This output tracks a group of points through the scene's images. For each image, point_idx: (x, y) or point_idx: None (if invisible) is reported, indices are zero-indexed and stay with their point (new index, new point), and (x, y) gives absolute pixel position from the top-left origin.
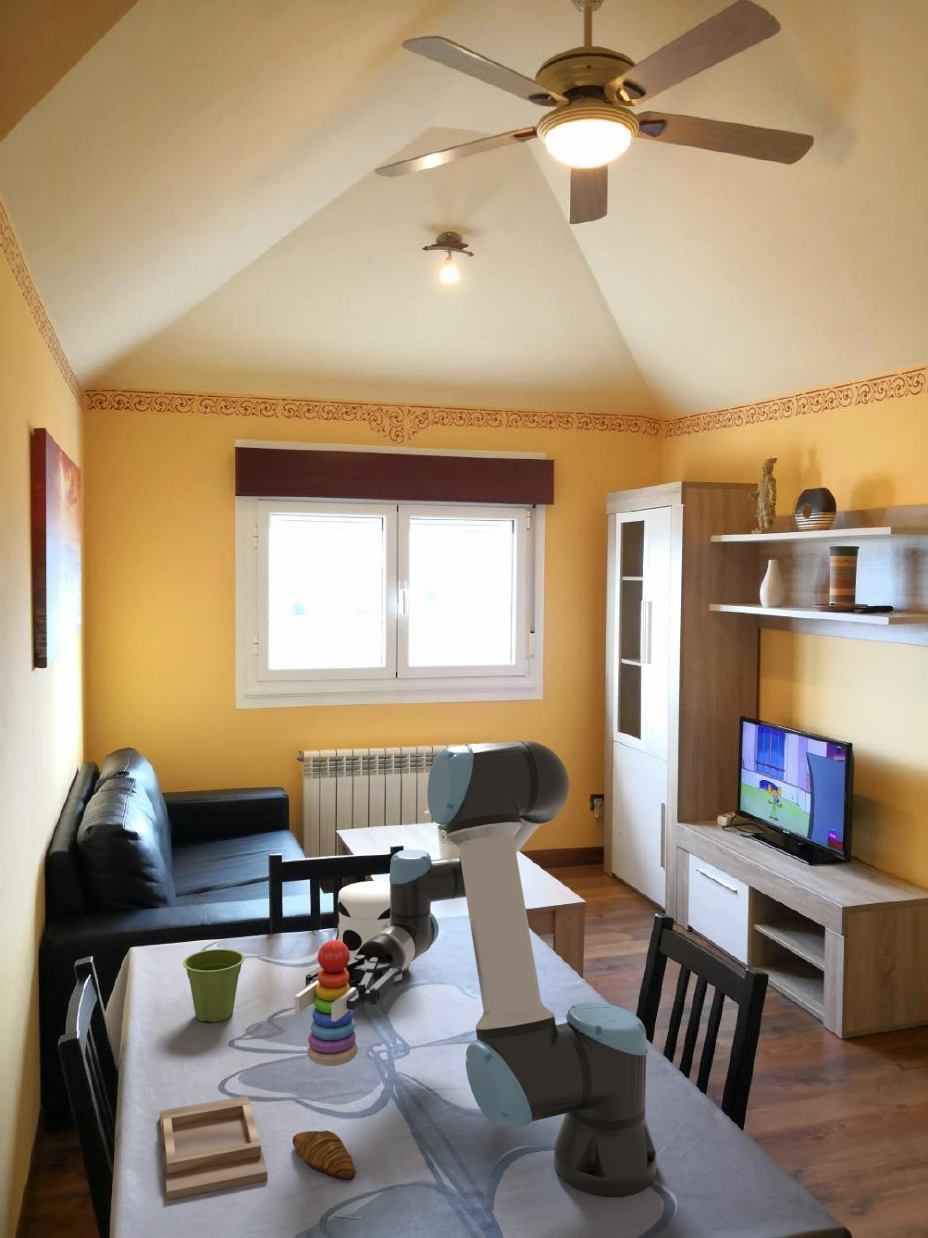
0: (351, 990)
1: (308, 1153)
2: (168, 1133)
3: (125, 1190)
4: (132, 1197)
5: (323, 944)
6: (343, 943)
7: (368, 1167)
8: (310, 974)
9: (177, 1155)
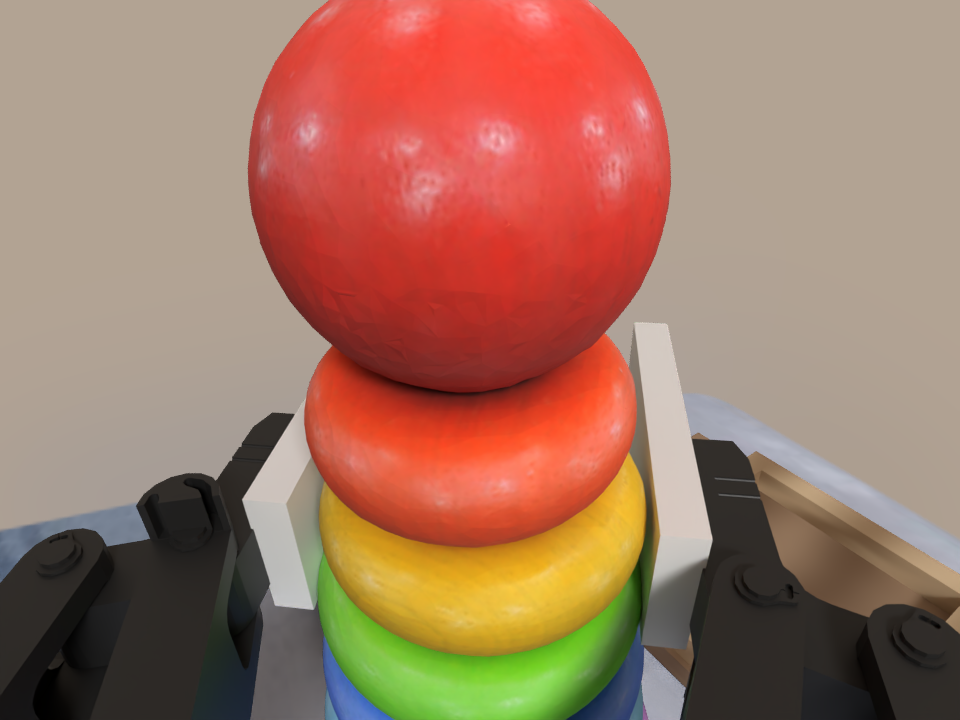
0: (285, 453)
1: None
2: (881, 533)
3: (800, 448)
4: (766, 438)
5: (603, 14)
6: (316, 21)
7: (283, 656)
8: (911, 639)
9: (796, 519)
